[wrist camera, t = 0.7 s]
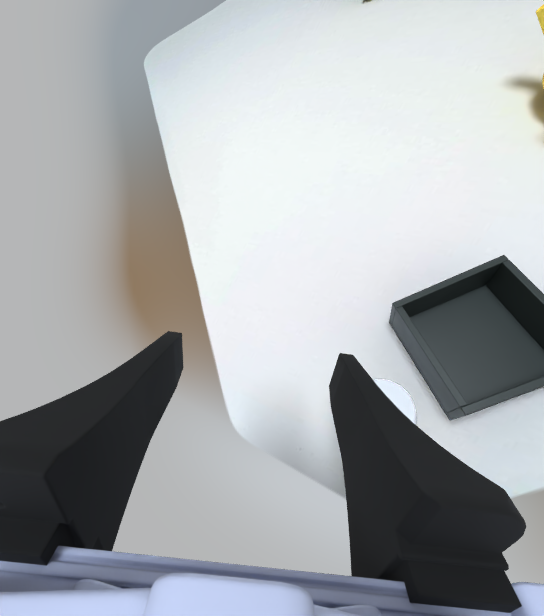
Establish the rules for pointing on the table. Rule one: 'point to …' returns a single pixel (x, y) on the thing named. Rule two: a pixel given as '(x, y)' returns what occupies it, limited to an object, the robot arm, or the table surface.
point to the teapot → (541, 24)
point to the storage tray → (475, 336)
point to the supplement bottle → (398, 397)
